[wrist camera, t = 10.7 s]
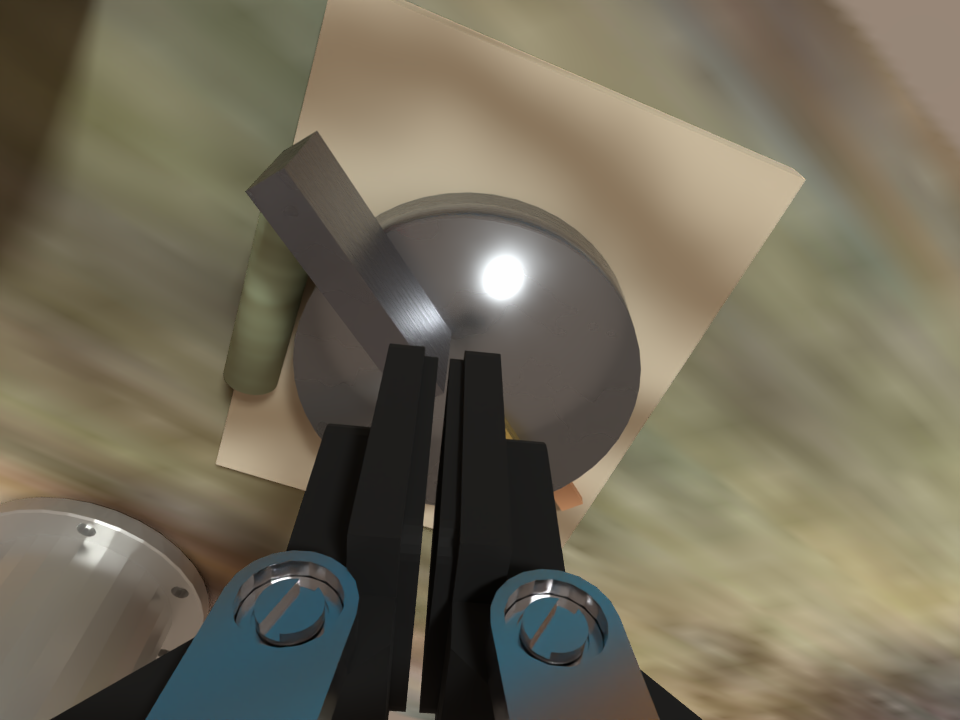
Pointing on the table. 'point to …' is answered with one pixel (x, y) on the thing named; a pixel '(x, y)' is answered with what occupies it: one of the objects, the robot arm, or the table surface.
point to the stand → (509, 173)
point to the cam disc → (453, 307)
